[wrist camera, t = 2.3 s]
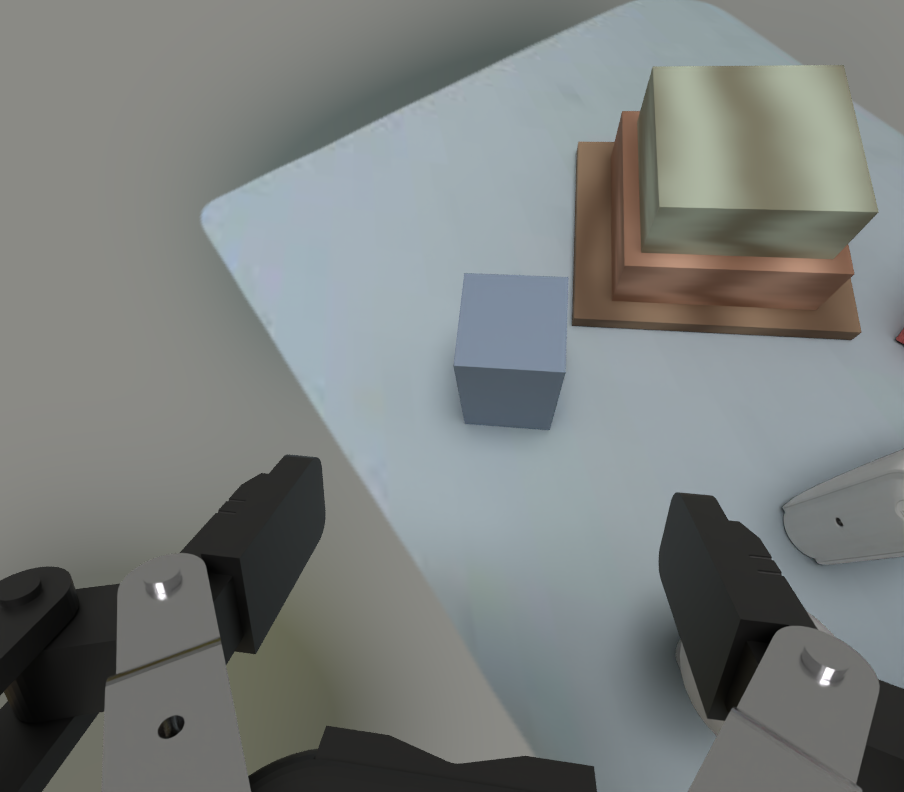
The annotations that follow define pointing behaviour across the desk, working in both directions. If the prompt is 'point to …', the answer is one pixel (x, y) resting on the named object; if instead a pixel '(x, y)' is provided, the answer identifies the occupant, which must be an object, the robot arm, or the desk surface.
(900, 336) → the ink cartridge box
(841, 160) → the stepped tiered pedestal
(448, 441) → the desk surface
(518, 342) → the slate brick
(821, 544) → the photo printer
